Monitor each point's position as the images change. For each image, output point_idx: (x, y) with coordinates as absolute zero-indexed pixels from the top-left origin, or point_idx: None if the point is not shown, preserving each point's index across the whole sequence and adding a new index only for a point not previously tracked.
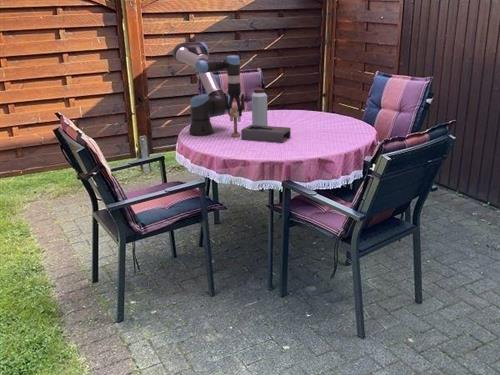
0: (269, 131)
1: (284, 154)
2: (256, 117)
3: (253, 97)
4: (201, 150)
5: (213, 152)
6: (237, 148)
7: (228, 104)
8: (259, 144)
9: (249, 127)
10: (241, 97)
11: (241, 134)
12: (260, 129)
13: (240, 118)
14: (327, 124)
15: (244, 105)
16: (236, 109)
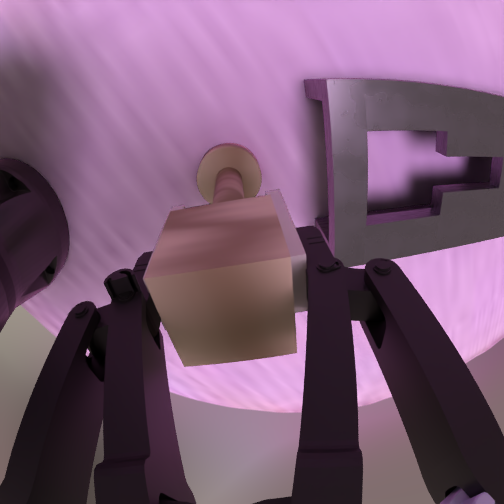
0: (493, 228)
1: (497, 313)
2: None
3: None
4: (244, 403)
5: (296, 400)
6: (358, 346)
7: (76, 355)
8: (429, 265)
9: (364, 180)
10: (439, 493)
11: None
12: (450, 205)
13: (285, 205)
14: None
15: (424, 309)
16: (293, 352)
